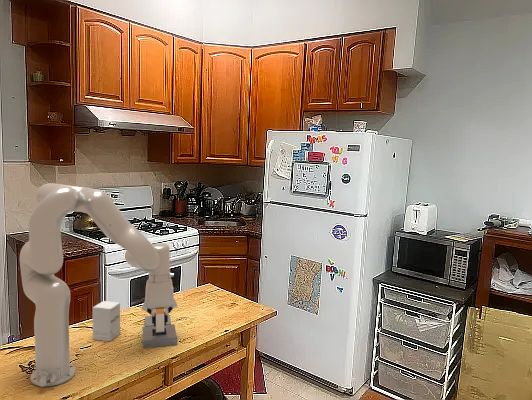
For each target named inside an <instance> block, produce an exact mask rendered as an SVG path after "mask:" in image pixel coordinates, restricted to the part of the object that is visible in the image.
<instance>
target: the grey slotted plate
mask: <svg viewBox="0 0 532 400" xmlns="http://www.w3.org/2000/svg"><path fill="white" fill-rule="evenodd" d="M171 324H172V321H171V314H170V313H169V314H168V322H166V325H171ZM148 326H154V324H152V316H151V315H145V316H144V327H148Z"/></svg>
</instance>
